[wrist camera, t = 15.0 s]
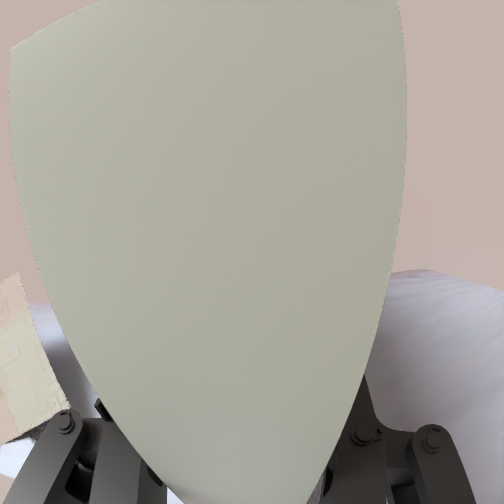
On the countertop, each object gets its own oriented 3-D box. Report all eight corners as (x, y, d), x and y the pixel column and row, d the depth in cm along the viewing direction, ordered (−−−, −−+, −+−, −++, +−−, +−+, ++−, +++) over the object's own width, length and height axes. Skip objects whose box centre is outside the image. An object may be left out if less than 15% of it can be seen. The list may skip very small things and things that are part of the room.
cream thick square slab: (299, 535, 9) (460, 5, 1) (204, 531, 9) (-21, 71, 2) (293, 335, 24) (297, 104, 16) (236, 334, 24) (221, 106, 17)
